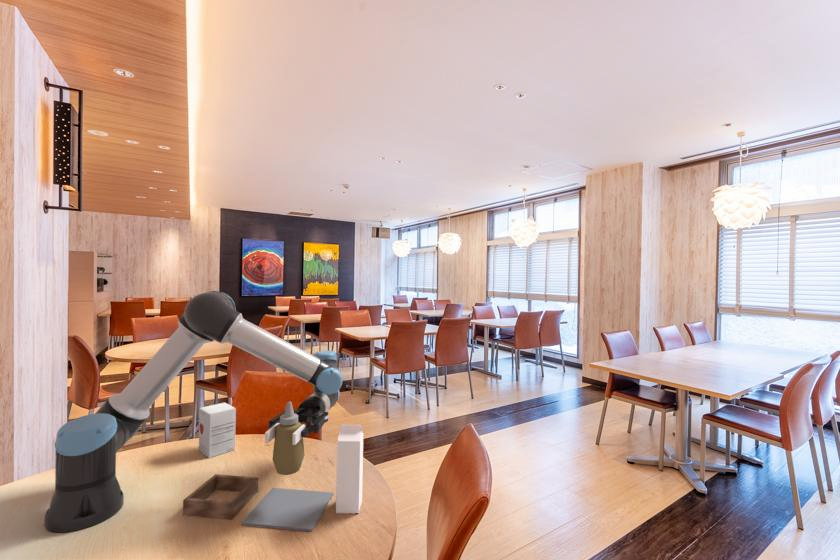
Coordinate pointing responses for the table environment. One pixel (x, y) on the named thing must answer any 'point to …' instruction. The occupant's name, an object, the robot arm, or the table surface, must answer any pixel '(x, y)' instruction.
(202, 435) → the supplement box
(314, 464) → the table surface
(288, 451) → the squeeze bottle
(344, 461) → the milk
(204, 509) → the walnut tray
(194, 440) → the table surface
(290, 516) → the slate mat
